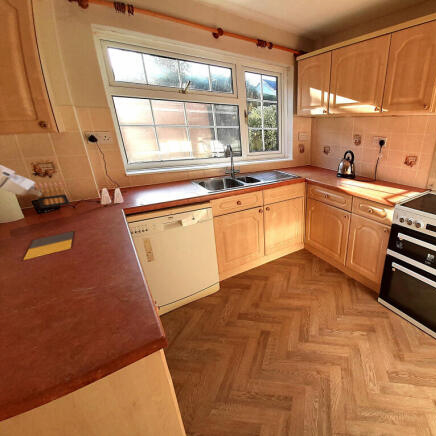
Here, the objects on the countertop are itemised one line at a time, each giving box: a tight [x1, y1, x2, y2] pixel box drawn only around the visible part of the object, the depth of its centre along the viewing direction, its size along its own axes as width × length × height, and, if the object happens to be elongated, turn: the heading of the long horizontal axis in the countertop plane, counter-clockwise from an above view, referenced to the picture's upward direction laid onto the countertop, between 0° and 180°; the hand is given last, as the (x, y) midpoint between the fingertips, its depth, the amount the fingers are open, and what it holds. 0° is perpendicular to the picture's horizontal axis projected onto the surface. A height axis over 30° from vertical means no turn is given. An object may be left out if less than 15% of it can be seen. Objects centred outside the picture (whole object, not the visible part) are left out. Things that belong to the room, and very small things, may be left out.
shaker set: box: [100, 187, 125, 206], centre depth 158 cm, size 12×4×11 cm, turn 128°
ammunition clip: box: [34, 180, 71, 209], centre depth 120 cm, size 11×2×12 cm, turn 127°
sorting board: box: [22, 231, 75, 261], centre depth 105 cm, size 14×22×1 cm, turn 37°
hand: (42, 194), depth 118 cm, fingers closed on ammunition clip, 2 cm apart
